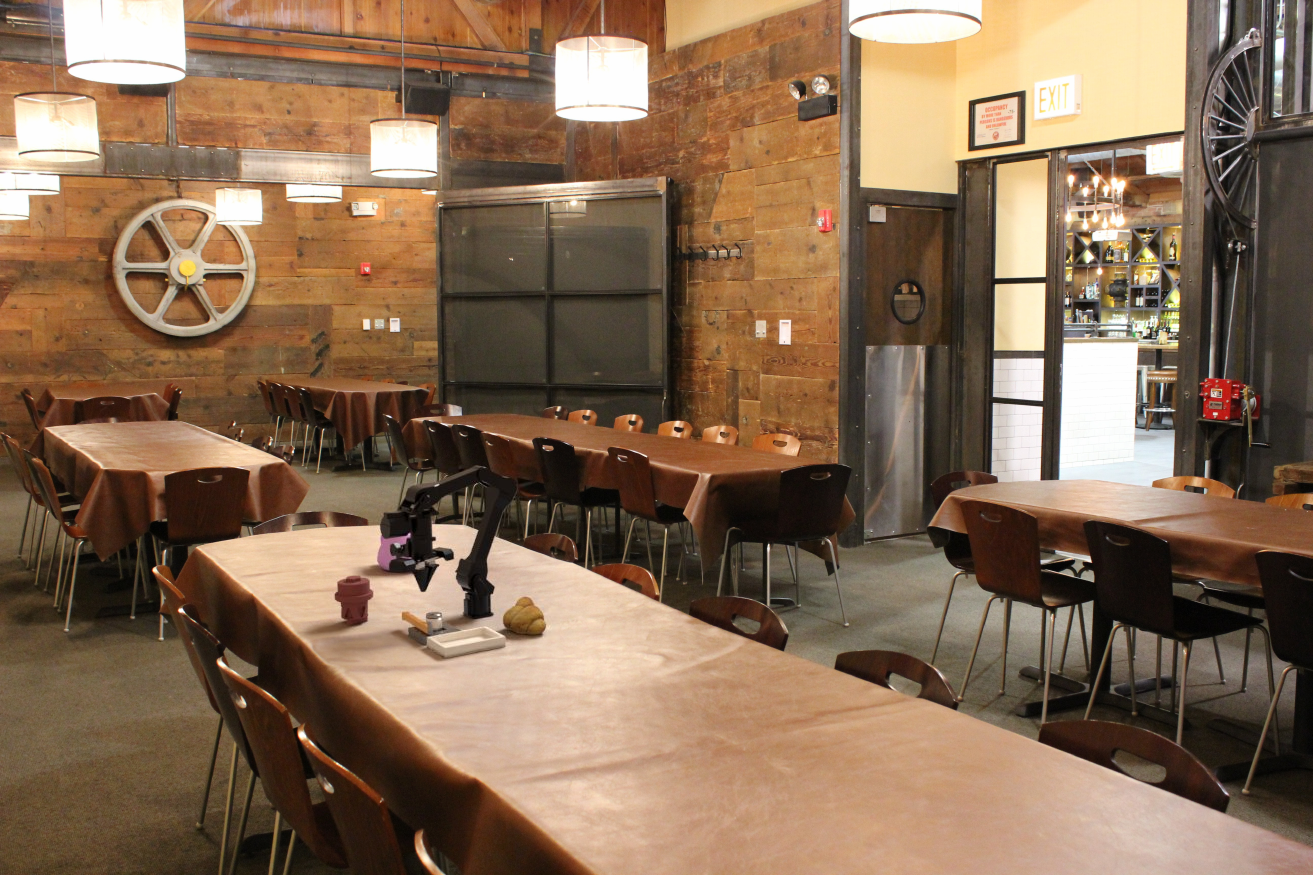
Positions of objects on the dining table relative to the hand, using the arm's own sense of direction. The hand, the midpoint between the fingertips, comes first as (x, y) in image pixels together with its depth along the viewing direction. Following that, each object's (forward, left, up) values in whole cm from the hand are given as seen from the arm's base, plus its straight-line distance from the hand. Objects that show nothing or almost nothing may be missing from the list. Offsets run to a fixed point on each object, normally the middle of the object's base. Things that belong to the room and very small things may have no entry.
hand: (423, 591), depth 284 cm
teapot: (-23, -67, -10) cm, 72 cm away
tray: (-1, +23, -9) cm, 25 cm away
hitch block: (+2, +11, -9) cm, 14 cm away
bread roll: (-20, +20, -10) cm, 29 cm away
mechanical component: (+14, -14, -10) cm, 22 cm away
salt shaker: (+2, +11, -9) cm, 14 cm away
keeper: (+5, +7, -7) cm, 11 cm away
